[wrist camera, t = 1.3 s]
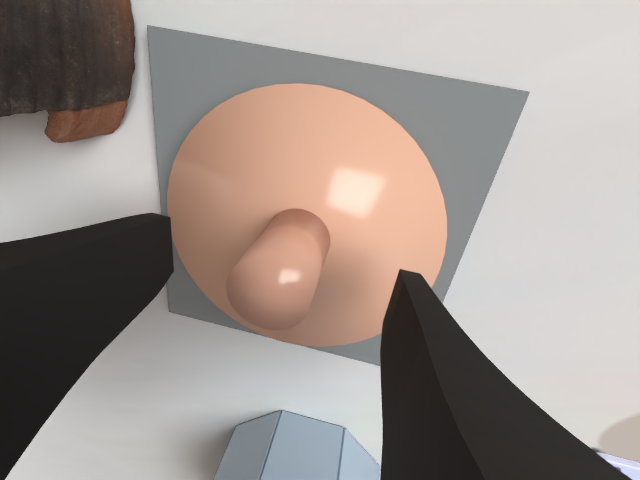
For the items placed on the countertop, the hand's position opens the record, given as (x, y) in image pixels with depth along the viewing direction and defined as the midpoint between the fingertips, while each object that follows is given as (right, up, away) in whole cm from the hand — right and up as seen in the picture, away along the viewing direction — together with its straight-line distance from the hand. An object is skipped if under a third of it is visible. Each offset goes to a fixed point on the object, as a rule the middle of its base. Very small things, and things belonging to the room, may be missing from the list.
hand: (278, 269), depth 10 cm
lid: (+1, +1, +3) cm, 3 cm away
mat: (+1, +1, +3) cm, 4 cm away
